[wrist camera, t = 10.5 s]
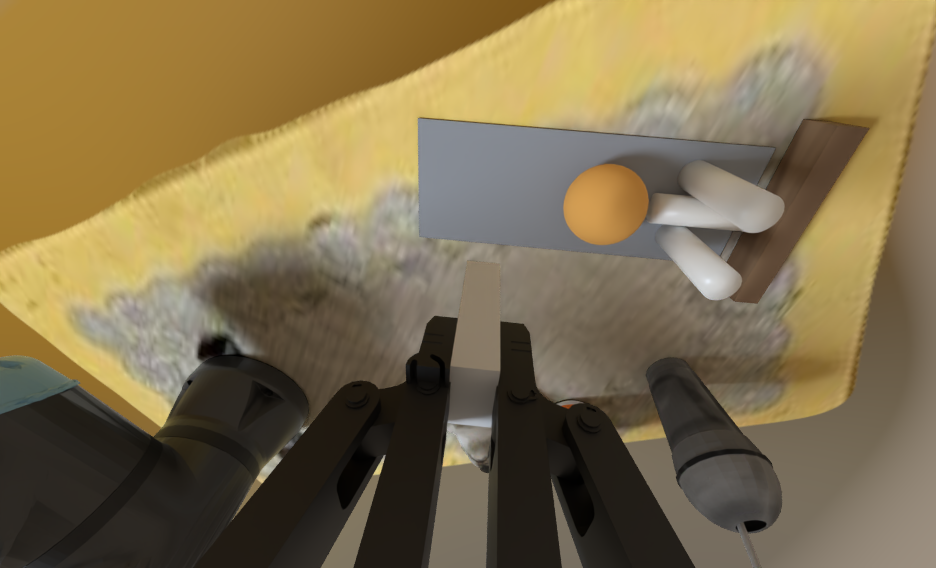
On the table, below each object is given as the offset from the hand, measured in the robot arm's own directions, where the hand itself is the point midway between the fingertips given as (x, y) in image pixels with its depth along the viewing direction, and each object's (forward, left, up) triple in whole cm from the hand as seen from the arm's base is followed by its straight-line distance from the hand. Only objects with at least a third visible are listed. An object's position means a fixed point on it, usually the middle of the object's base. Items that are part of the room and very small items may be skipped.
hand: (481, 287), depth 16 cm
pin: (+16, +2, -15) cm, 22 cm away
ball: (+9, 0, -12) cm, 15 cm away
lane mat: (+7, 0, -15) cm, 17 cm away
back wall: (+23, 0, -15) cm, 28 cm away
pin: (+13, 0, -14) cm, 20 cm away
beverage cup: (+22, -19, -16) cm, 33 cm away
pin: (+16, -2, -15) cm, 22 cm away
